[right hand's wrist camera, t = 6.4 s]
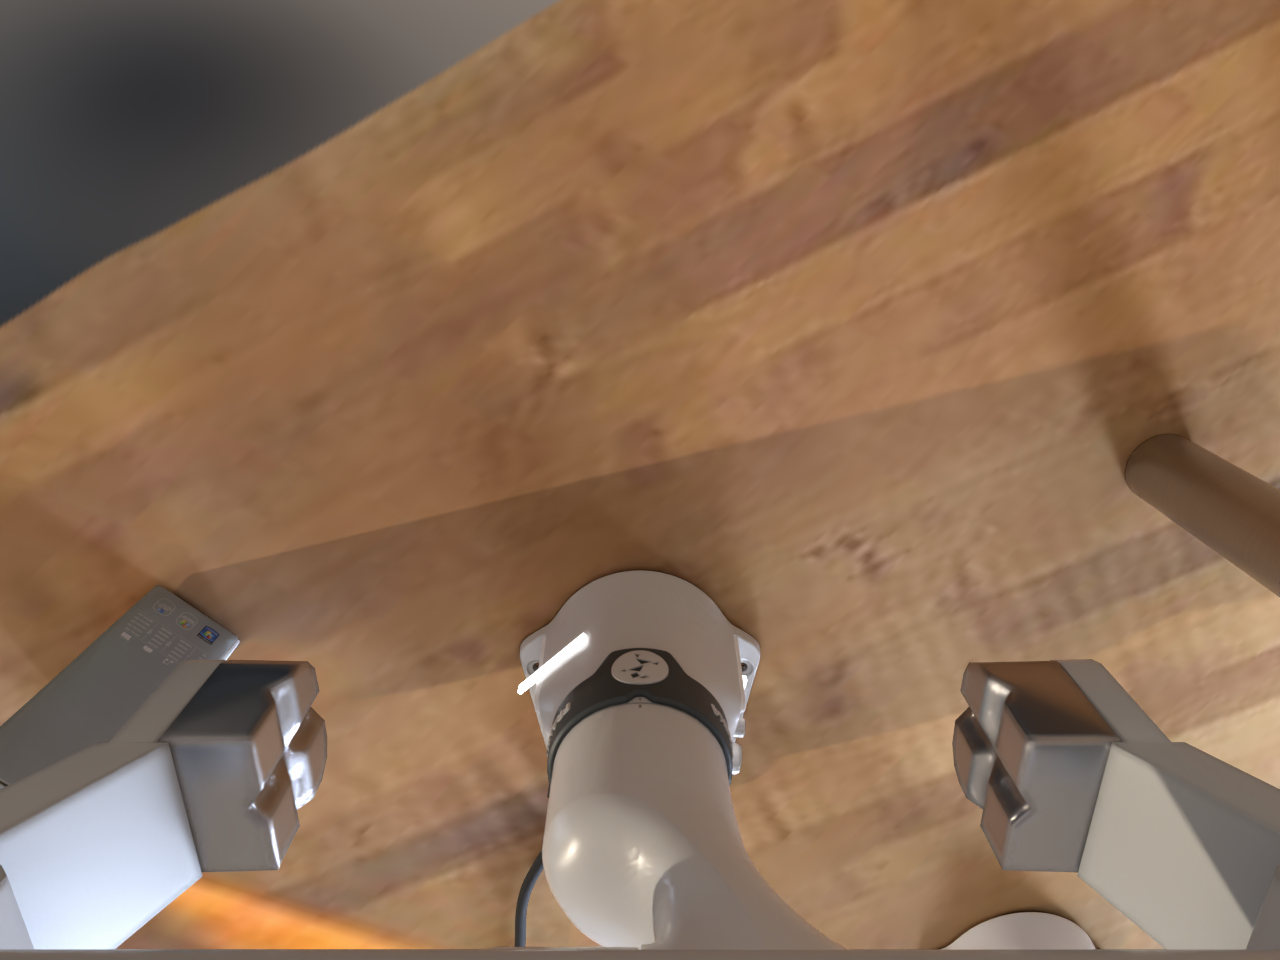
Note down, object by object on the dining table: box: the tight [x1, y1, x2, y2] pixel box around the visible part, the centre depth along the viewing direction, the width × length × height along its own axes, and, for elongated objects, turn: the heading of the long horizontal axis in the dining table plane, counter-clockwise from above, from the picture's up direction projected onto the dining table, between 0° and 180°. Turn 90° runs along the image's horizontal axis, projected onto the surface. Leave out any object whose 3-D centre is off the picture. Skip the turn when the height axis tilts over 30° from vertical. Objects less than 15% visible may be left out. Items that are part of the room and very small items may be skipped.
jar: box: [1125, 434, 1280, 597], centre depth 53 cm, size 5×5×18 cm
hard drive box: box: [0, 585, 240, 789], centre depth 58 cm, size 16×8×20 cm, turn 138°
